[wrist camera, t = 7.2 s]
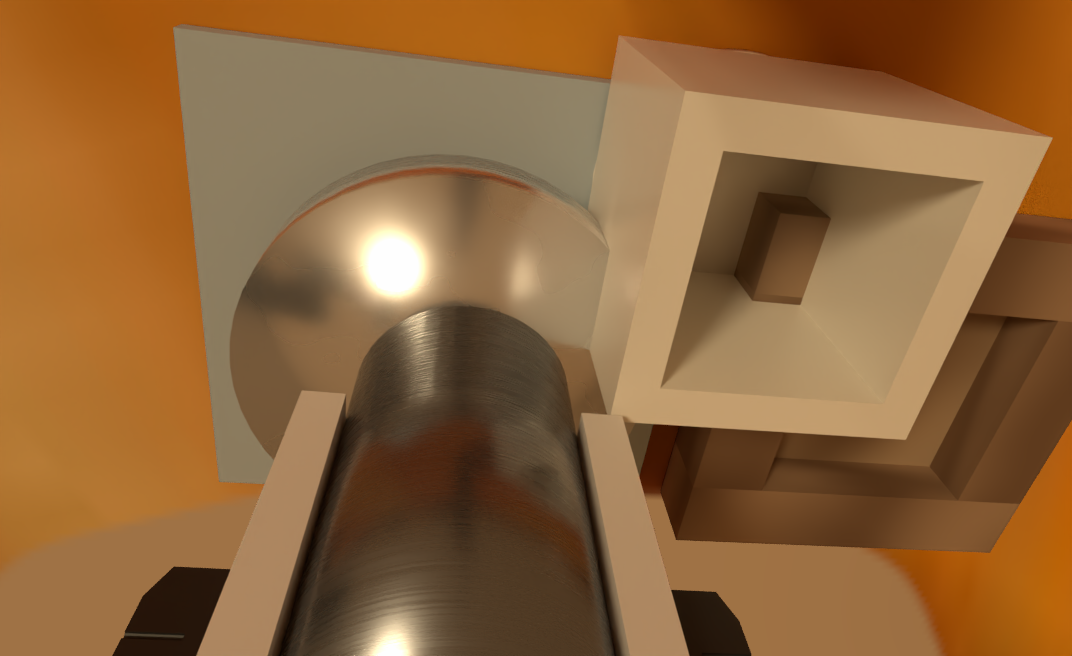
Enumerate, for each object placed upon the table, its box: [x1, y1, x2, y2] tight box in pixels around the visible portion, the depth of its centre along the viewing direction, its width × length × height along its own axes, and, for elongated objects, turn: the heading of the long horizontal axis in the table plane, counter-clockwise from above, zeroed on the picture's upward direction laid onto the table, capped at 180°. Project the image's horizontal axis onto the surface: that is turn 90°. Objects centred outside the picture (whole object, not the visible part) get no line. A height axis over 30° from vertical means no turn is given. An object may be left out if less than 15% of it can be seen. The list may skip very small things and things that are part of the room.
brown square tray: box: [661, 192, 1072, 553], centre depth 20 cm, size 10×10×2 cm
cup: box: [588, 36, 1052, 440], centre depth 15 cm, size 6×6×6 cm
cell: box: [279, 306, 616, 656], centre depth 11 cm, size 4×4×9 cm
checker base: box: [173, 24, 653, 484], centre depth 18 cm, size 12×12×1 cm
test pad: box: [230, 154, 635, 460], centre depth 16 cm, size 9×9×2 cm
